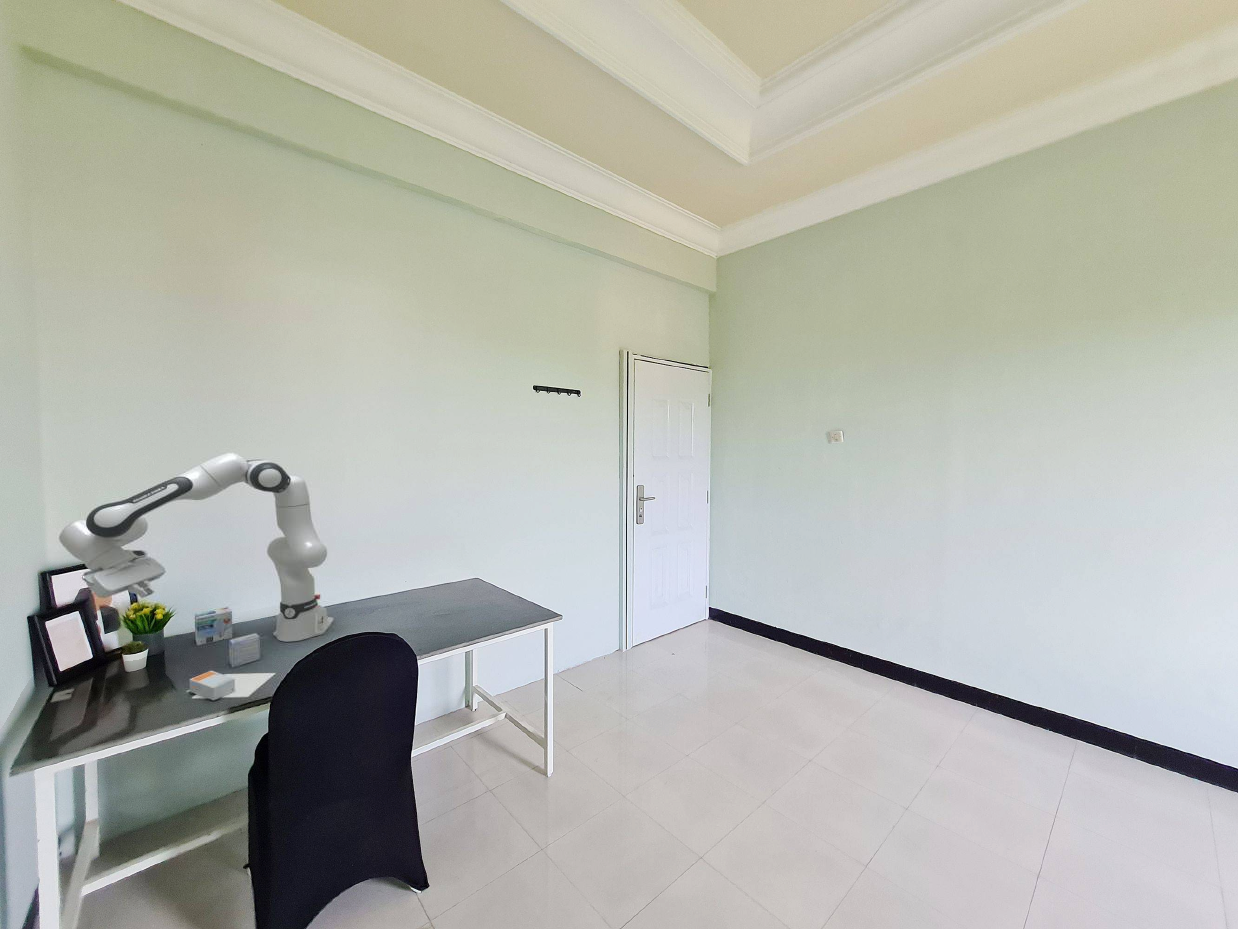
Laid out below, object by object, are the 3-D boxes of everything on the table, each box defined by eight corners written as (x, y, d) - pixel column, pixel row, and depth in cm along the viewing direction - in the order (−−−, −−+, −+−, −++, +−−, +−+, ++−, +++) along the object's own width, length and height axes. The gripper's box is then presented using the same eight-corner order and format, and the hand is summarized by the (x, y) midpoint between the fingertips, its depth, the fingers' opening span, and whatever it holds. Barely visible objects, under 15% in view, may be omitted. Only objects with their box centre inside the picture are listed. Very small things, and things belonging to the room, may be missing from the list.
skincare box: (211, 669, 151) (235, 678, 147) (211, 682, 152) (235, 691, 148) (188, 679, 146) (213, 687, 142) (188, 692, 146) (213, 701, 142)
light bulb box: (197, 646, 176) (195, 618, 176) (194, 640, 181) (193, 613, 180) (233, 637, 184) (232, 610, 183) (230, 632, 189) (229, 605, 188)
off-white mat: (224, 675, 157) (224, 674, 157) (276, 673, 159) (276, 672, 159) (191, 699, 143) (191, 698, 143) (247, 697, 145) (247, 696, 145)
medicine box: (257, 655, 170) (256, 632, 170) (260, 659, 168) (259, 636, 167) (229, 663, 164) (228, 639, 164) (232, 668, 162) (231, 643, 161)
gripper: (86, 567, 136) (125, 599, 138) (149, 549, 156) (182, 577, 158) (69, 582, 136) (109, 614, 138) (135, 562, 156) (168, 590, 158)
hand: (148, 594), depth 148 cm, fingers closed
